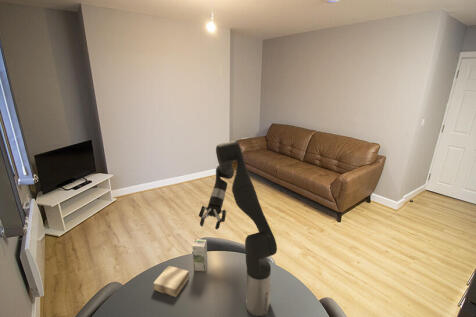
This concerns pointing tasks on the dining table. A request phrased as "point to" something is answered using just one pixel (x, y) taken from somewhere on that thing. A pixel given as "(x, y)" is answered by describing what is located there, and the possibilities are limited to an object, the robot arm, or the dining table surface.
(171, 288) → the birch stand
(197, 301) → the dining table surface
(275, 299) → the dining table surface
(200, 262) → the syrup box
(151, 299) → the dining table surface
